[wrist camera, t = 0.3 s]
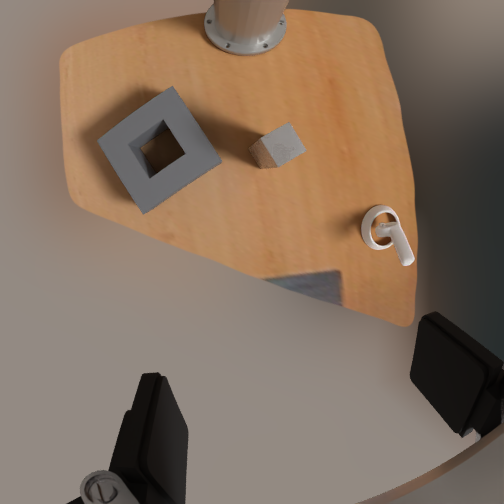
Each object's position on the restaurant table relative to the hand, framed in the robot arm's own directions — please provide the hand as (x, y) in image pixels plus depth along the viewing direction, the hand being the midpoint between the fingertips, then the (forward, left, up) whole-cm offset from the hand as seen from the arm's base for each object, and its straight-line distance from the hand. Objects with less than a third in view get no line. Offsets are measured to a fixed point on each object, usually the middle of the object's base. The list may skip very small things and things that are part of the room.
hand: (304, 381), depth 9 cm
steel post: (-6, +8, -35) cm, 37 cm away
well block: (-14, -4, -35) cm, 38 cm away
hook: (+14, +19, -35) cm, 42 cm away
